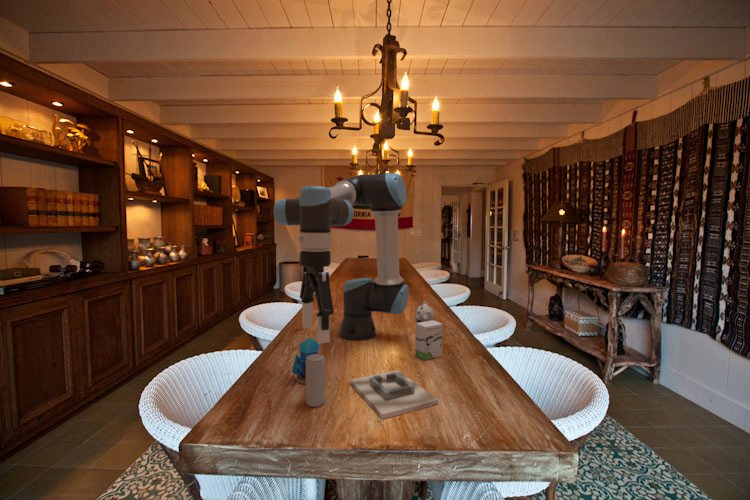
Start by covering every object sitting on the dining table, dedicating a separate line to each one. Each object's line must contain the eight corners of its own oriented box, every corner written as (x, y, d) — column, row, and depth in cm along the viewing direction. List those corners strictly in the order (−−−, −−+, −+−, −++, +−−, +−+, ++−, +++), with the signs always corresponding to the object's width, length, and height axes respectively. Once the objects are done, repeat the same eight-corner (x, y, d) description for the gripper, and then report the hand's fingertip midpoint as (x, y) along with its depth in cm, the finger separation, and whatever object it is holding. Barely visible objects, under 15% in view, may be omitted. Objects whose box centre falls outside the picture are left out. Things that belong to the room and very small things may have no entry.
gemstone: (296, 373, 106) (296, 335, 105) (324, 374, 106) (324, 335, 105) (289, 384, 99) (289, 343, 98) (320, 385, 99) (320, 344, 98)
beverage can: (306, 398, 91) (306, 353, 90) (325, 398, 92) (325, 353, 91) (304, 408, 86) (304, 361, 86) (324, 407, 87) (324, 360, 86)
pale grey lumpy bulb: (420, 297, 173) (426, 301, 158) (434, 306, 173) (441, 310, 158) (410, 314, 172) (415, 319, 157) (424, 323, 172) (430, 328, 158)
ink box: (424, 361, 117) (424, 326, 116) (414, 356, 121) (415, 323, 120) (442, 355, 122) (443, 322, 121) (432, 351, 126) (433, 319, 125)
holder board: (349, 384, 100) (349, 373, 100) (398, 373, 107) (398, 363, 107) (382, 419, 82) (382, 406, 82) (437, 404, 89) (438, 392, 89)
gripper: (288, 247, 95) (288, 323, 97) (315, 254, 73) (315, 353, 75) (315, 246, 99) (314, 320, 100) (348, 253, 77) (347, 347, 78)
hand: (315, 334), depth 88 cm, fingers open, 13 cm apart
